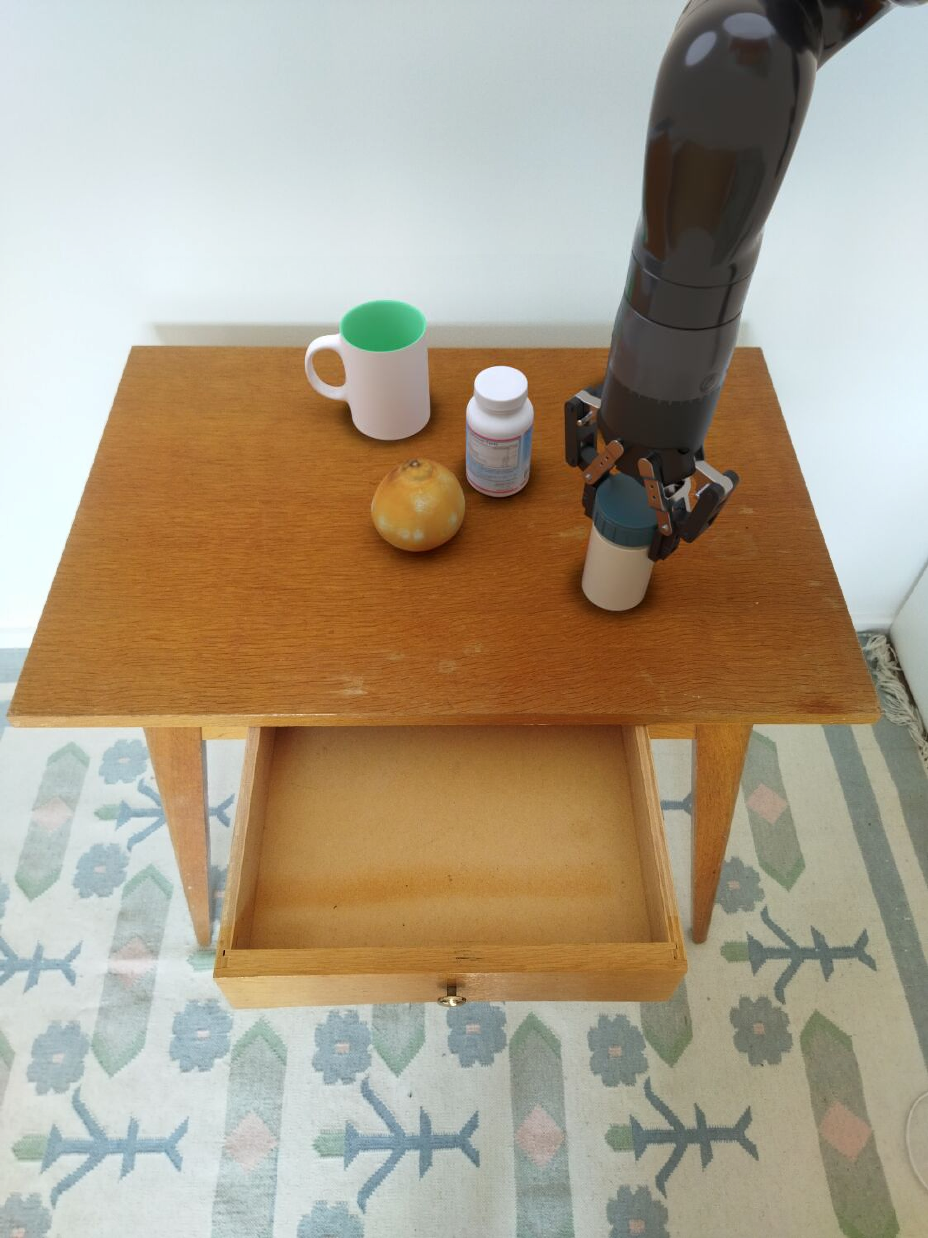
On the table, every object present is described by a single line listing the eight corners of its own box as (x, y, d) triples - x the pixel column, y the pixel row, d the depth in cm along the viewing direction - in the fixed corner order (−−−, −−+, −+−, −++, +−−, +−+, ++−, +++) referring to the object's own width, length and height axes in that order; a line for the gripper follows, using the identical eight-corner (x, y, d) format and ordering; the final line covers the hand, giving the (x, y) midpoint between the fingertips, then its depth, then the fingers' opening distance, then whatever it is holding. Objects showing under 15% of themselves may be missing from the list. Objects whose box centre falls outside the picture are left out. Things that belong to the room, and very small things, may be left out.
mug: (310, 441, 82) (292, 354, 74) (316, 389, 87) (300, 301, 78) (430, 439, 82) (426, 351, 74) (430, 386, 87) (426, 298, 79)
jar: (646, 563, 73) (669, 484, 65) (645, 614, 70) (669, 537, 62) (583, 557, 73) (598, 476, 65) (579, 607, 70) (594, 529, 62)
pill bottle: (496, 446, 82) (500, 350, 73) (541, 477, 79) (551, 382, 70) (452, 476, 79) (451, 381, 70) (497, 509, 77) (502, 415, 68)
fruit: (397, 461, 77) (382, 435, 69) (479, 485, 76) (473, 462, 68) (370, 543, 77) (351, 527, 69) (452, 569, 76) (442, 556, 68)
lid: (575, 512, 65) (579, 492, 63) (632, 480, 67) (637, 460, 65) (626, 559, 62) (631, 540, 60) (684, 525, 64) (690, 505, 62)
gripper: (798, 382, 51) (727, 556, 65) (617, 287, 57) (587, 464, 70) (729, 442, 48) (670, 611, 62) (544, 334, 54) (528, 510, 67)
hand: (626, 532), depth 66 cm, fingers closed on lid, 6 cm apart
